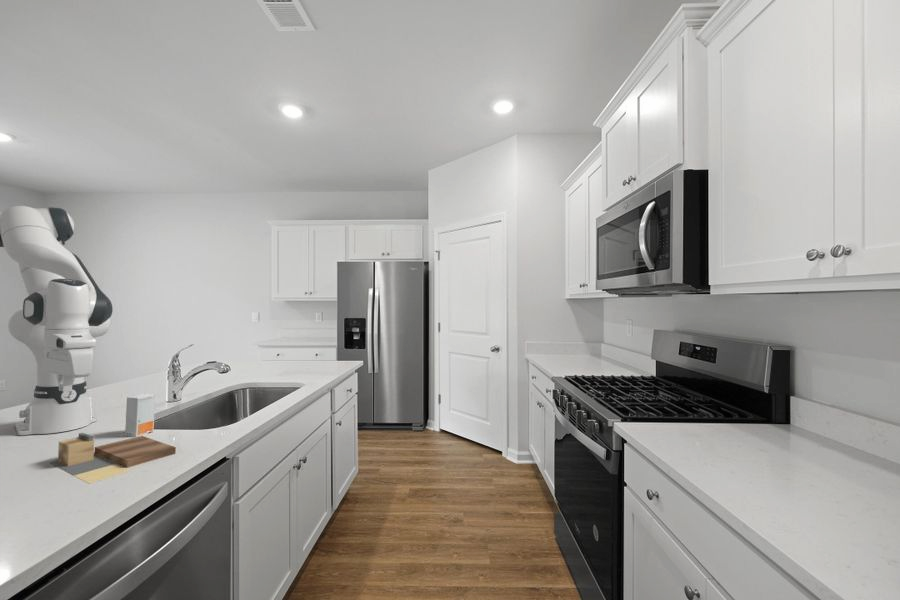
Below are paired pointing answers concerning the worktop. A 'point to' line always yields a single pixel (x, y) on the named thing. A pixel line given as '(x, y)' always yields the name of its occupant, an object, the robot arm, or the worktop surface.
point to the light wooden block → (76, 450)
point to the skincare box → (140, 414)
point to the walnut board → (134, 451)
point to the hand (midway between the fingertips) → (65, 391)
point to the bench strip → (92, 469)
